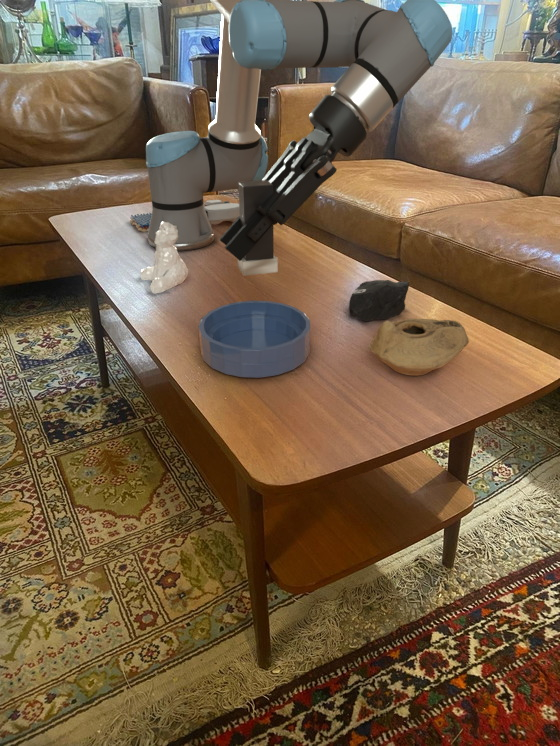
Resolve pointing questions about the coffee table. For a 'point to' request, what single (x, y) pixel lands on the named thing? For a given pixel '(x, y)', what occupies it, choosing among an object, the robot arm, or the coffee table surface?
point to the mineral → (378, 299)
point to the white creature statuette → (165, 261)
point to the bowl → (254, 338)
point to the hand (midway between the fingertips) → (229, 249)
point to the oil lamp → (418, 344)
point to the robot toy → (221, 211)
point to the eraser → (262, 251)
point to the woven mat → (141, 221)
